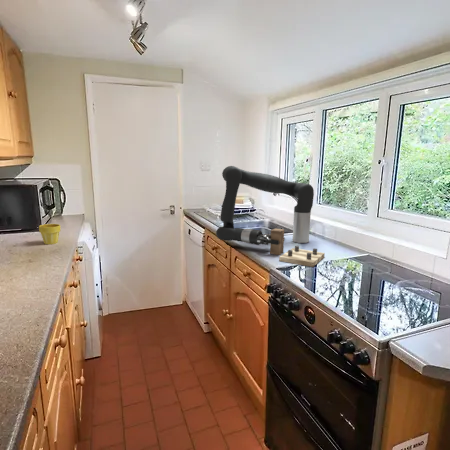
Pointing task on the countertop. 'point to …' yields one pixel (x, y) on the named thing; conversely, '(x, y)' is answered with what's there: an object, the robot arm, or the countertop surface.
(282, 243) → the walnut block
